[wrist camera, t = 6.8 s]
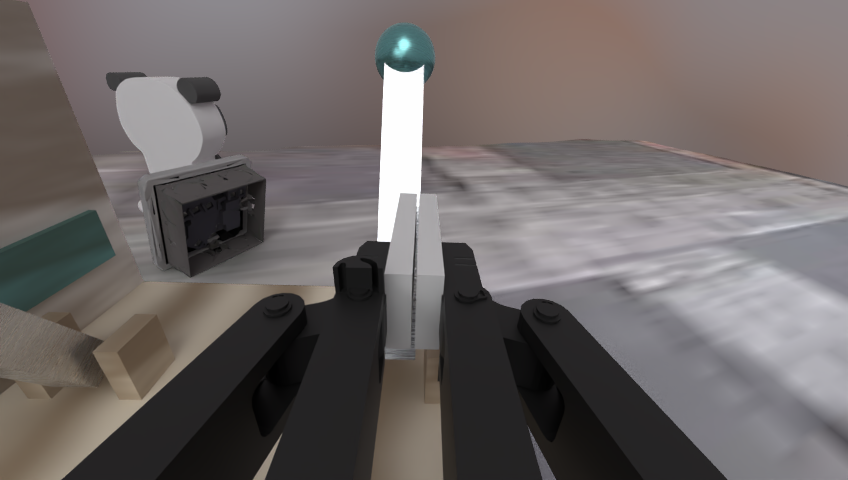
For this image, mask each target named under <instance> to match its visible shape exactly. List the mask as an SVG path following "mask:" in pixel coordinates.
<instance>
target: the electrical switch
mask: <svg viewBox="0 0 848 480" xmlns="http://www.w3.org/2000/svg"><path fill="white" fill-rule="evenodd" d="M251 165H252V162H251V160H250V159H249V158H247V157H245V156H243V155H241V154H240V155H235V156H230V157H226V158H221V159H216V160H212V161H207V162H202V163H197V164H193V165H188V166H183V167H179V168H174V169H169V170H165V171H160V172H155V173H151V174H146V175H143V176H142V177H141V178H140V179H139V181H138V188H139V193H140V198H141V203H142V208H143V213H144V218H145V223H146V228H147V233H148V238H149V243H150V248H151V253H152V259H153V263H154V264H155V265H156V266H157V267H158V268H160V269H161V270H163V271H165V270H167V269H169V268H172V267H175V268H176V269H178V270H180V271H182V272H184V273H185V274H186V275H188V276H189V277H193V276H195V275H197V274H199V273H201V272H203V271H205V270H207V269H209V268H211V267H213V266H215V265H217V264H220V263H222V262H224V261H226V260H228V259H230V258H232V257H234V256H236V255H238V254H240V253H242V252H244V251H246V250H248V249H250V248H252V247H255V246H257V245H259V244H261V243H262V242H263V237H264V214H265V192H266V179H265V178H264V177H262V176H260V175H258V174H256V173H255V172H254V171H253V170H252V169H251ZM252 197H253V198H255V199H253V198H252ZM252 204H255V206H254V209H253V208H252ZM256 238H257V239H256ZM246 239H247V240H246ZM259 240H260V241H259ZM261 241H262V242H261ZM217 247H220V248H221V249H222V252H221V253H215V251H213V249H215V248H217ZM229 248H231V249H229ZM232 249H233V250H232ZM207 253H208V254H207ZM209 254H212V255H213V256H214V257H213V256H211V255H209Z"/></svg>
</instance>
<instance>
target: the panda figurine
mask: <svg viewBox="0 0 848 480" xmlns="http://www.w3.org/2000/svg"><path fill="white" fill-rule="evenodd" d="M106 80H107V84H108V86H109V87H110V89H112V90H114V91H116V105H117V111H118V115H119V119H120V122H121V124H122V127H123V129H124V131H125V133H126V134H127V136H128V137H129V139H130V140H131V141H132V143H133V144H134V145H135V146H136V147H137V148H138V149H139V150H141V151H142V152H143V155H144V157H145V160H146V163H147V166H148V169H149V172H150V174H151V173H155V172H160V171H165V170H169V169H174V168H179V167H183V166H188V165H193V164H197V163H202V162H207V161H212V160H216V159H221V157H220V156H219V155H218V154H217V153H218V152H219V151H220V150H221V148H222V146H223V144H224V141H225V136H226V135H227V126H226V122H225V119H224V117H223V114H222V112H221V111H220V109H219V107H218V106H217V105H215V104H214V102H213V101H218V100H219V99H220V96H221V94H220V90H219V88H218V85H217V84H216V83H215V81H213V80H212V79H210V78H208V77H202V78H200V77H199V78H178V77H147V76H146V75H145V74H144V73H140V72H139V73H138V72H127V73H126V72H125V73H107V75H106ZM216 154H217V155H216ZM138 207H139V210H140V211H141V212H143V208H142V203H141V200H140V201H139V203H138Z"/></svg>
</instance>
